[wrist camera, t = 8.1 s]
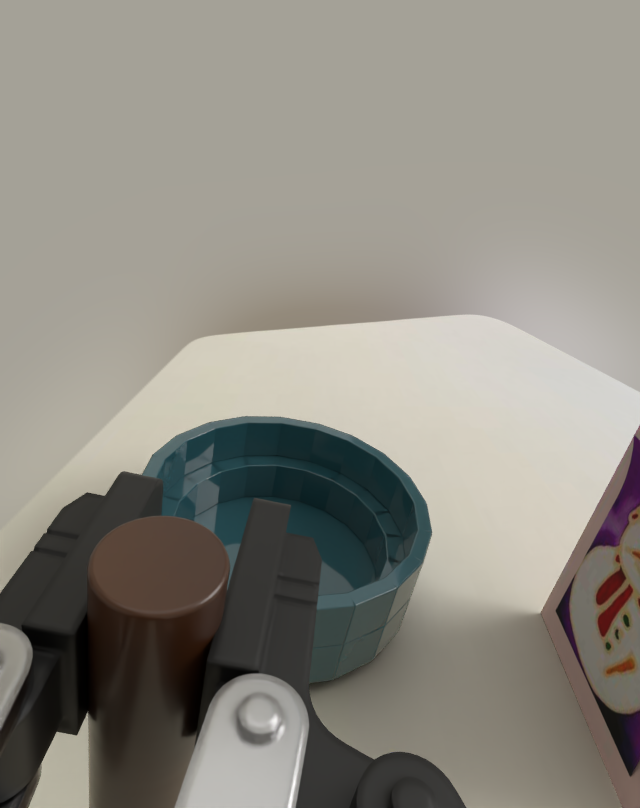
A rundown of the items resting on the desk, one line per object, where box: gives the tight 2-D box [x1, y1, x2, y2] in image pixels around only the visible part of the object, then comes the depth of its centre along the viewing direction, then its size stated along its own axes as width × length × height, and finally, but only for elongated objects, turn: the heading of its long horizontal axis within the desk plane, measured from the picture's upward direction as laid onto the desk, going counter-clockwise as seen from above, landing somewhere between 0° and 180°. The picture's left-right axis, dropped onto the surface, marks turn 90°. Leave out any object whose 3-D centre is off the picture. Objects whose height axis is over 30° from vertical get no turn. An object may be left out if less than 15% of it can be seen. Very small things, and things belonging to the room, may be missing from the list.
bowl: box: [142, 416, 432, 683], centre depth 33 cm, size 16×16×6 cm
